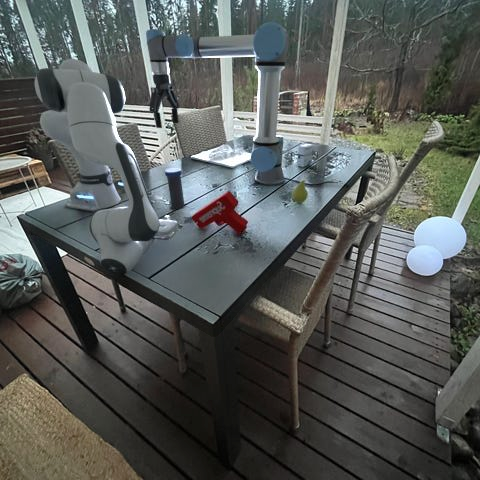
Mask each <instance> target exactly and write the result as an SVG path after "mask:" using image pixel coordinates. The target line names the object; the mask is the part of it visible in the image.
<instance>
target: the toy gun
mask: <svg viewBox="0 0 480 480" xmlns="http://www.w3.org/2000/svg"><path fill="white" fill-rule="evenodd" d="M238 205H239V200H238V199H237V197H236V196H235V195H234V194H233V193H232V191H231V190H227V191H226V192H224V193H222V194H221V195H220V196H218V197H216V198H215V199H213V200H212V201H211V202H209V203H208V204H206V205H204V206H203V207H201V208H200V209H198V210H197V211H195V213H194V214H193V215H192V216H191V217H190V219H192V221H193V222H194V224H196V226H197V227H198V228H199V229H201V230H202V229H204V228H206V227H209V226H210V225H211V224H213V223H215V225H216V226H217V227H221V226H223V225H225V224H226V225H227V226H229V227H230V228H231V229H232V230H234V232H235V235H237V236H239V234H241V233H242V234H244V233H245V231H246V230H247V228H248V226H247V225H248V224H249V221H248V220H247V219H246V218H245V217H244V216H242V215H241V214H239V213H238V212H237V210H235V209H237V206H238Z"/></svg>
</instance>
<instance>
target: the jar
mask: <svg viewBox="0 0 480 480" xmlns="http://www.w3.org/2000/svg"><path fill="white" fill-rule="evenodd" d="M166 178H167V179H166V180H167V186H168V193H169V198H170V204H171V205H170V206H171V208H172V209H174V210H180V209H183V208H184V207H185V197H184V190H183V182H182V174H181V175H180V176H178V177H167V176H166Z"/></svg>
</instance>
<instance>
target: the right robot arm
mask: <svg viewBox="0 0 480 480" xmlns="http://www.w3.org/2000/svg"><path fill="white" fill-rule="evenodd" d="M145 37H146V46H147V51H148V56H149V63H150V69H151V74H152V75H151V78H152V83H153V84H154V86H155V87H154V86H152V87H150V99H149V100H150V101H149V112H151V113H152V114H153V119H154V122H155V127H156V129H163V124H162V117H161V112H159V111H160V107H161V104H162V102H163V99H166V100H167V102H168V103H169V104H170V107H171V116H172V123H173V124H179V123H180V122H179V113H178V109H180V105H181V104H180V101H179V100H178V97H177V94H176V92H175V88H174V85H170V84H171V75H170V67H169V60H168V59H169V58H181V59H183V58H185V59H202V58H203V59H204V58H205V59H206V58H242V57H243V58H245V57H247V58H248V57H255V59H254V67H255V69H256V70H257V71H258V85H257V86H258V87H257V89H258V90H257V113H256V114H257V115H256V117H257V119H256V135H255V136H254V137H253V139H252V151H251V153H250V154H251V156H250V161H249V162H250V164H251V166H252V167H253V168H254V169H255V170H257V171H256V173H254V176H255V177H254V181H255V183H258V184H259V185H262V186H263V185H264V186H279V185H281V184H283V183H284V181H285V180H287V181H291V182H293V183H298V184H299V183H300V182H301V181H299V180H295V179H292V178H288V177H285V175H284V172H283V171H284V170H283V167H282V165H283V154H284V153H283V152H284V137H283V135H280V134H279V135H278V134H277V130H278V117H279V116H278V114H279V103H280V102H279V99H280V86H281V72H282V71H283V70H284V69H285V67H286V61H287V60H286V58H287V54H288V53H289V52H290V51H289V50H290V47H291V37H290V34H289V31H287V29H286V28H284V27H283V26H282V25H281V24H280V23H278V22H276V21H268V22H265V23H263V24H261V25H260V26H258V28H257V29H256V31H255V33H254V34H239V35H220V36H219V35H218V36H198V37H191V36H190V35H188V34H181V33H180V34H174V35H166V34H165V32H164V30H163V29H147V30H146V32H145ZM333 181H334V180H328V181H323V182H319V183H308V182H307V183H306V182H305V186H320V185H324V184H333V183H334V184H336V183H337V184H338V182H333ZM338 181H339V182H342V181H340V180H338ZM344 186H346V187H349V185H348V184H347V183H346V184H344Z"/></svg>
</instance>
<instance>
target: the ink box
mask: <svg viewBox="0 0 480 480" xmlns="http://www.w3.org/2000/svg"><path fill="white" fill-rule="evenodd" d="M313 148H314V144H312V143H311V144H310V143H304V144H300V145H298V149H297V157H296V158H297V159H296V166H298V167H300V168H304V167H306V166H309V165H311V164H312V156H313ZM310 162H311V163H310ZM308 163H309V164H308ZM298 164H299V165H298ZM305 164H307V165H305ZM301 165H304V166H301Z"/></svg>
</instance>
